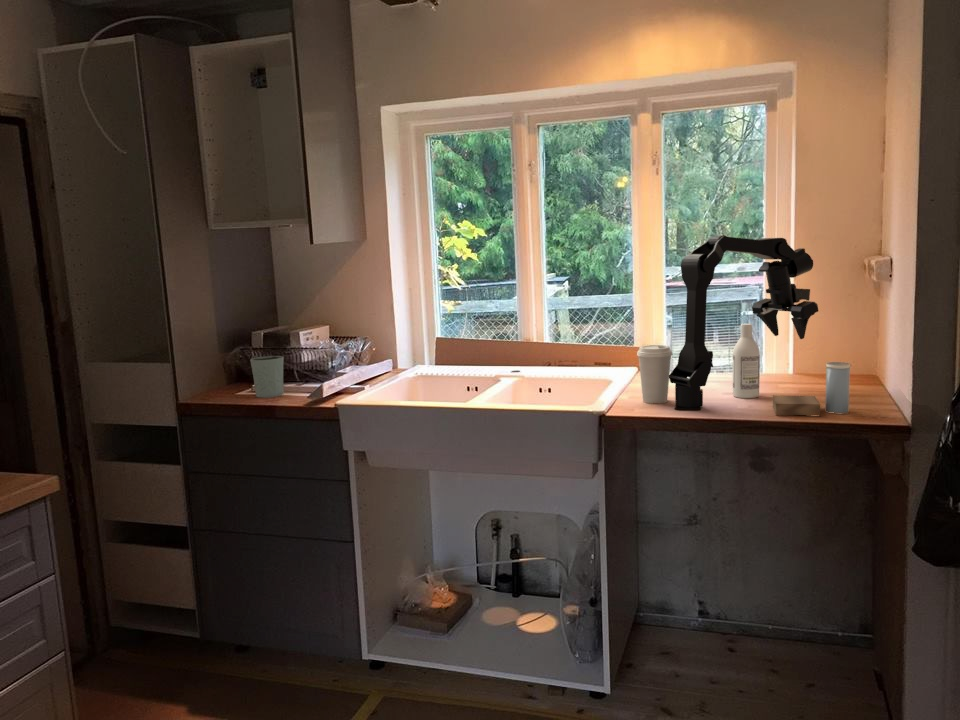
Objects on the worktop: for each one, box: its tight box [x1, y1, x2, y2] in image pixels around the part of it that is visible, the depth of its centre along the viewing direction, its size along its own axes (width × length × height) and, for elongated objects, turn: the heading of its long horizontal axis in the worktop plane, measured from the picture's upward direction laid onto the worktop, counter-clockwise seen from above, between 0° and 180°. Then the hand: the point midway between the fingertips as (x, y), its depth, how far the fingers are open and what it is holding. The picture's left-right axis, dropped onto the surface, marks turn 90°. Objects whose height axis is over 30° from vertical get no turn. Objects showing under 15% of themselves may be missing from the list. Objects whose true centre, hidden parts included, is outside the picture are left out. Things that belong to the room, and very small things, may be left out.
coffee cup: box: [636, 344, 673, 404], centre depth 210 cm, size 10×10×15 cm
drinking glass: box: [249, 355, 285, 399], centre depth 245 cm, size 10×10×12 cm
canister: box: [824, 361, 851, 414], centre depth 189 cm, size 5×5×12 cm
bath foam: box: [732, 323, 761, 399], centre depth 211 cm, size 7×7×20 cm
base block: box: [772, 394, 821, 417], centre depth 192 cm, size 10×10×3 cm
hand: (789, 337), depth 213 cm, fingers open, 9 cm apart
